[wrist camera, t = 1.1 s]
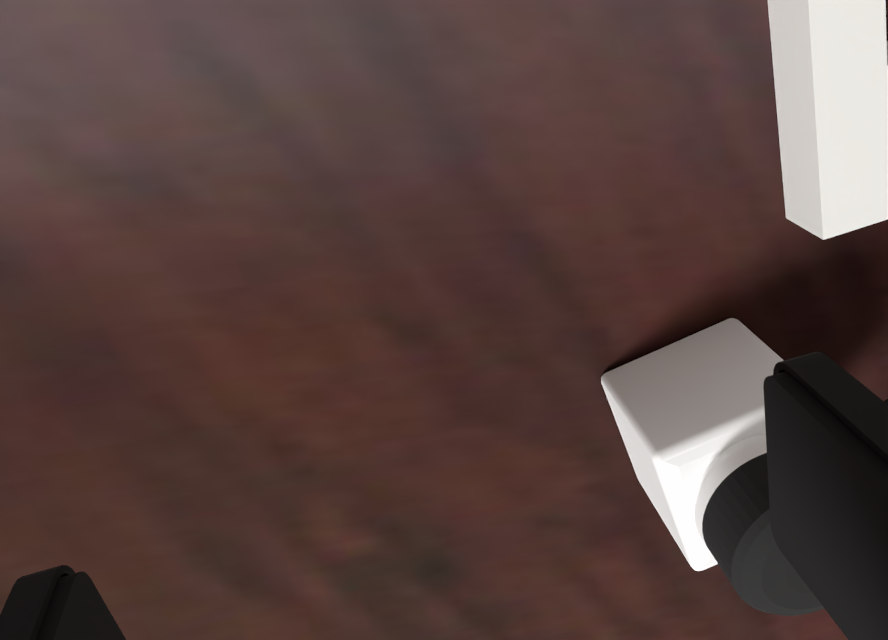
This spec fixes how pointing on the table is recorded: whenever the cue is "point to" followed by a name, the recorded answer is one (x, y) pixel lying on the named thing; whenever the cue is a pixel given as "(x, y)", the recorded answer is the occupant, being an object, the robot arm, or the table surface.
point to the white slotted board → (832, 111)
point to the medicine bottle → (710, 457)
